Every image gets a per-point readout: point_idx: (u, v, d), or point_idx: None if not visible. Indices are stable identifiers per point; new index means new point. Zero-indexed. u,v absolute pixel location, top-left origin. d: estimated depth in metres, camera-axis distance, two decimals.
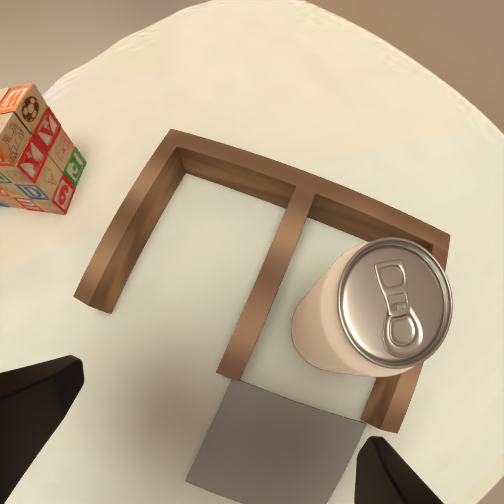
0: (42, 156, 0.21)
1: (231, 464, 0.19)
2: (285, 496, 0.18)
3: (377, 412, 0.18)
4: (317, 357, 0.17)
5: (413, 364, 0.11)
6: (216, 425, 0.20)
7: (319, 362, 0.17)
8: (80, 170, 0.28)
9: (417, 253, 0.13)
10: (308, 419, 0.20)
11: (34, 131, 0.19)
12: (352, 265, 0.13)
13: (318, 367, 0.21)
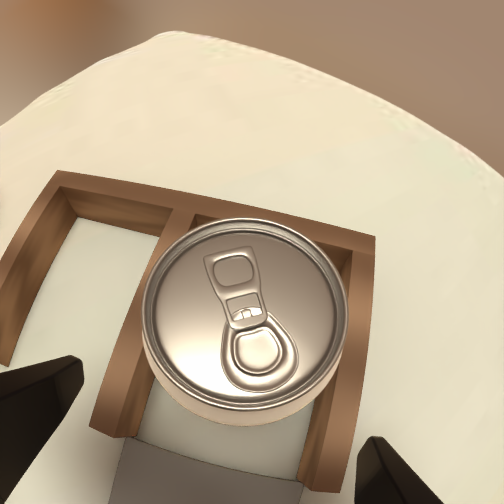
0: None
1: None
2: None
3: (309, 469, 0.13)
4: None
5: (280, 402, 0.07)
6: (117, 490, 0.13)
7: None
8: None
9: (279, 236, 0.10)
10: (225, 482, 0.14)
11: None
12: (171, 262, 0.09)
13: None
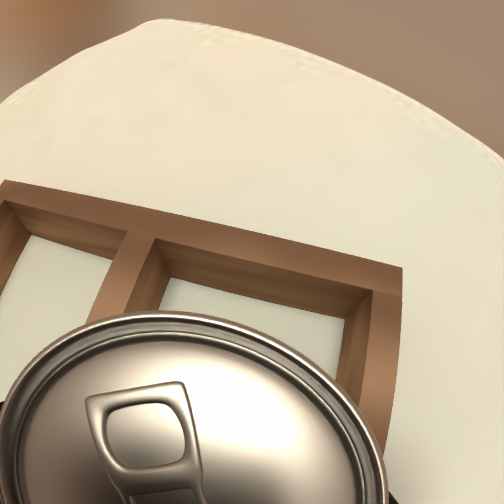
0: None
1: None
2: None
3: None
4: None
5: None
6: None
7: None
8: None
9: (249, 351, 0.04)
10: None
11: None
12: (37, 396, 0.03)
13: None
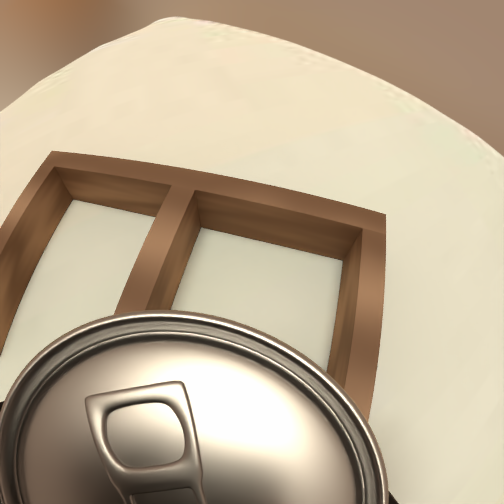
0: None
1: None
2: None
3: None
4: None
5: None
6: None
7: None
8: None
9: (249, 351, 0.04)
10: None
11: None
12: (37, 396, 0.03)
13: None
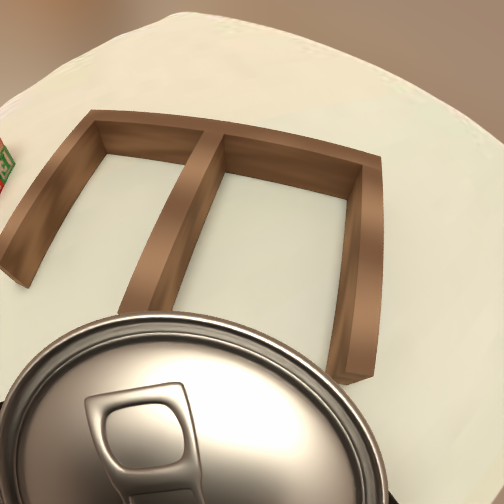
0: None
1: None
2: None
3: (339, 357, 0.15)
4: None
5: None
6: None
7: None
8: (9, 170, 0.24)
9: (249, 352, 0.04)
10: None
11: None
12: (36, 396, 0.03)
13: None
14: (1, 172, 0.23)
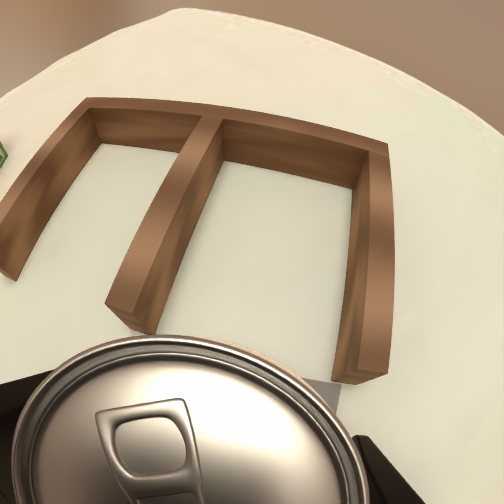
0: None
1: None
2: None
3: (349, 354, 0.14)
4: None
5: None
6: None
7: None
8: (1, 161, 0.23)
9: (244, 371, 0.04)
10: None
11: None
12: (49, 410, 0.04)
13: None
14: None
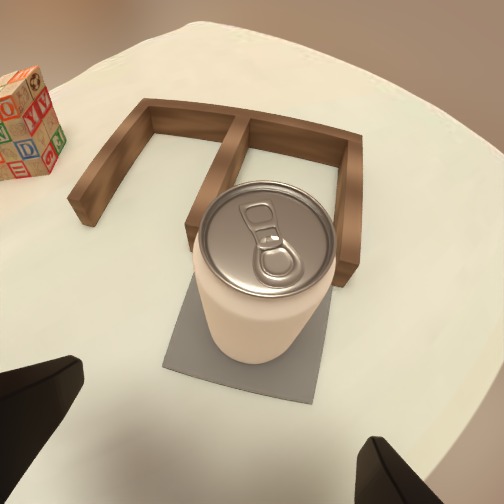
0: (38, 119, 0.26)
1: (207, 337, 0.22)
2: (270, 370, 0.21)
3: None
4: (219, 331, 0.16)
5: (293, 292, 0.11)
6: (189, 298, 0.24)
7: (226, 341, 0.17)
8: (62, 145, 0.32)
9: (288, 194, 0.14)
10: None
11: (35, 98, 0.24)
12: (216, 209, 0.13)
13: (239, 359, 0.20)
14: (56, 146, 0.31)
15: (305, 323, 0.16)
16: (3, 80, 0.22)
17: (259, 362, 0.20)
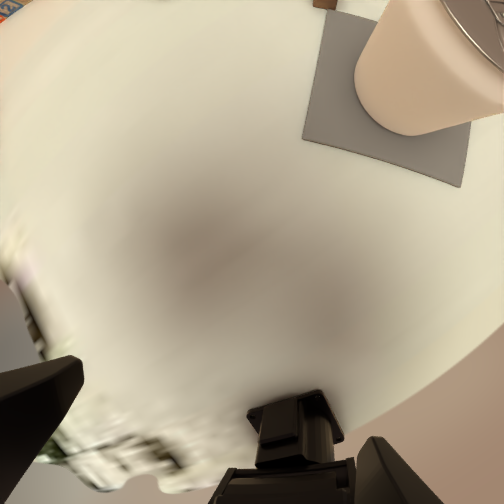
0: None
1: (353, 102, 0.17)
2: (422, 144, 0.17)
3: None
4: (406, 100, 0.11)
5: None
6: (324, 56, 0.16)
7: (407, 110, 0.12)
8: None
9: None
10: None
11: None
12: None
13: (398, 129, 0.15)
14: None
15: None
16: None
17: (417, 134, 0.16)
